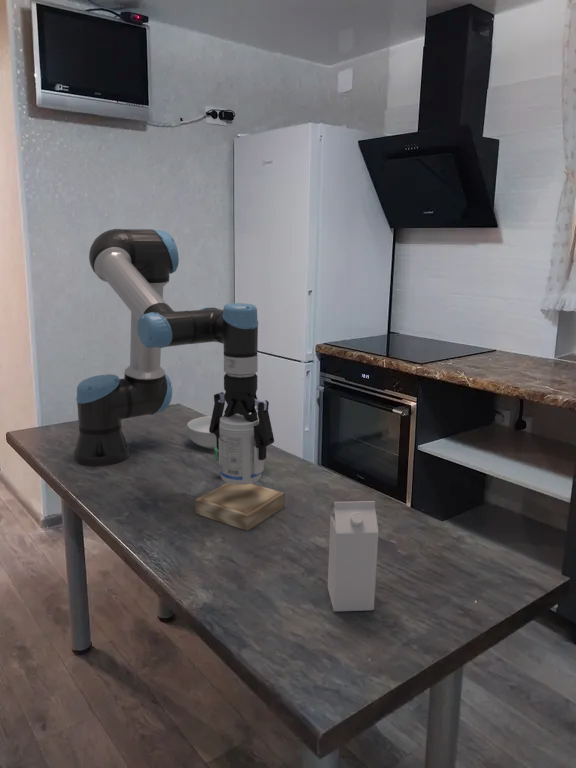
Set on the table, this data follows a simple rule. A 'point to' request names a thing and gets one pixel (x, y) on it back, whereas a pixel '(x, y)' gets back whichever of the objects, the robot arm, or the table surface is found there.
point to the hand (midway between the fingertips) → (240, 467)
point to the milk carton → (353, 556)
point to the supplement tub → (237, 450)
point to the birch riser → (240, 504)
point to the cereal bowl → (202, 432)
